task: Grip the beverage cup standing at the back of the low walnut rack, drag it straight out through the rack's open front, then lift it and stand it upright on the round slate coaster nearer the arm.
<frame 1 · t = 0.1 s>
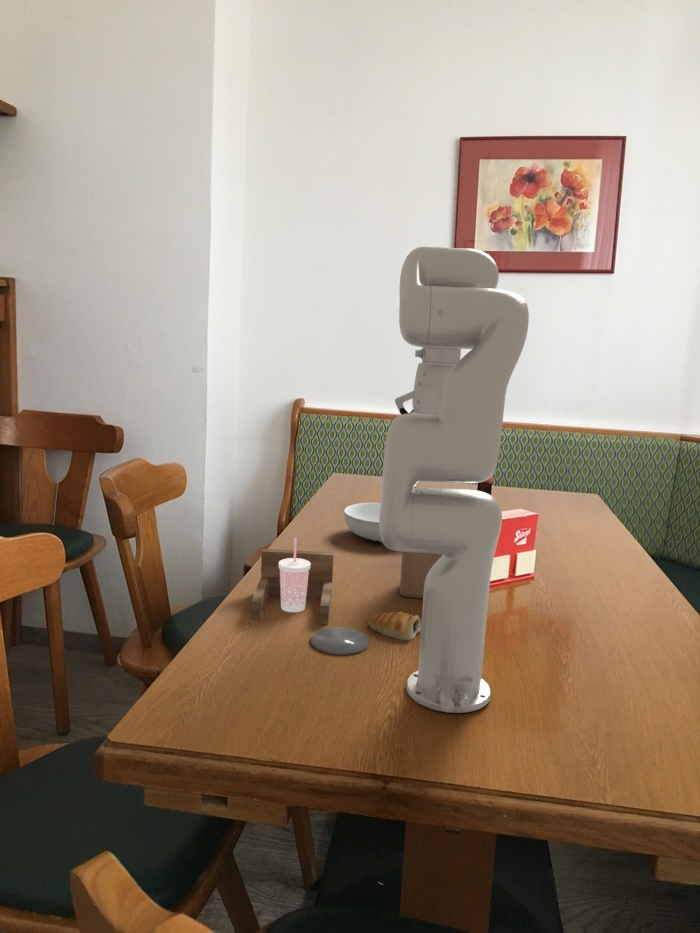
hand: (435, 442, 152), 31 cm above the table, tool pointing down, fingers open, 9 cm apart
beverage cup: (293, 608, 144), resting in rack
coaster: (339, 642, 130), on the table
serving bowl: (383, 538, 194), on the table
rack: (293, 607, 144), on the table
pastry: (396, 633, 136), on the table
block: (425, 592, 156), on the table
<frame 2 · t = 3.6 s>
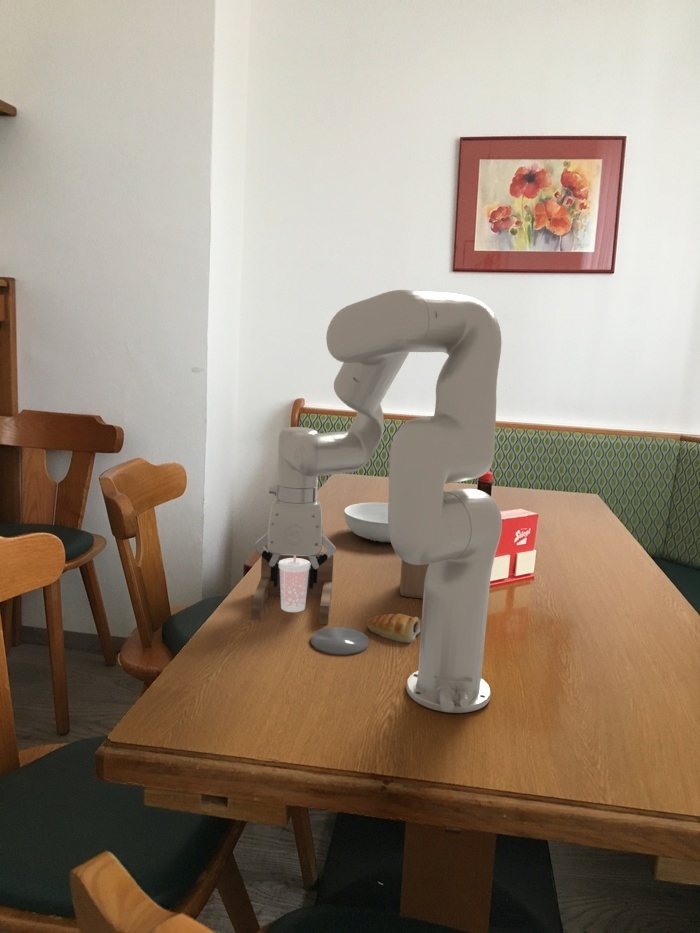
hand: (293, 584, 143), 5 cm above the table, tool pointing down, fingers closed on beverage cup, 6 cm apart
beverage cup: (293, 608, 144), resting in rack, touching gripper
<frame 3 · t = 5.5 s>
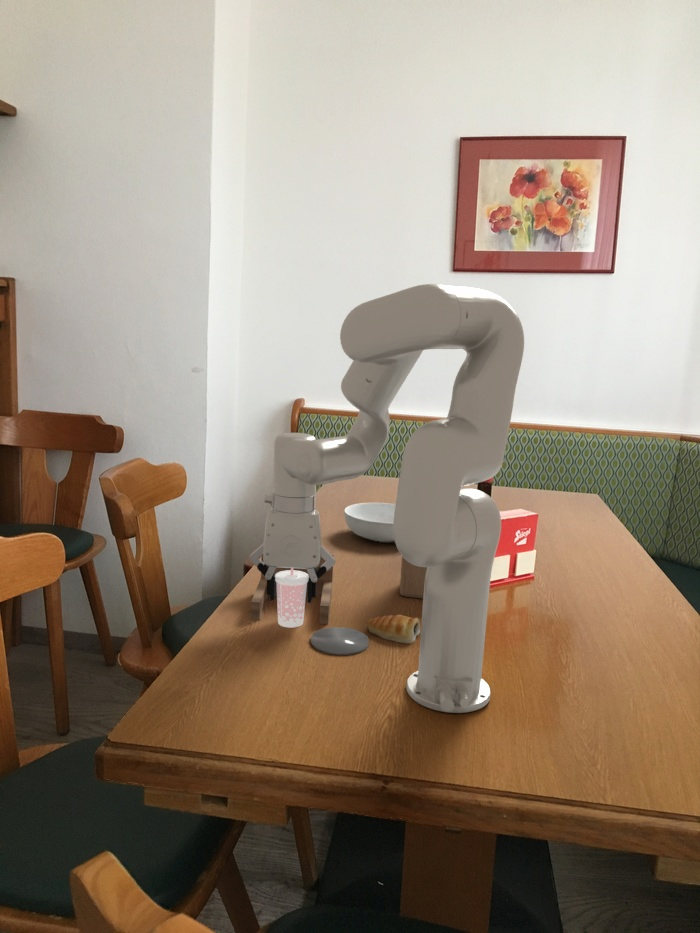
hand: (291, 598, 136), 5 cm above the table, tool pointing down, fingers closed on beverage cup, 6 cm apart
beverage cup: (290, 623, 137), on the table, touching gripper
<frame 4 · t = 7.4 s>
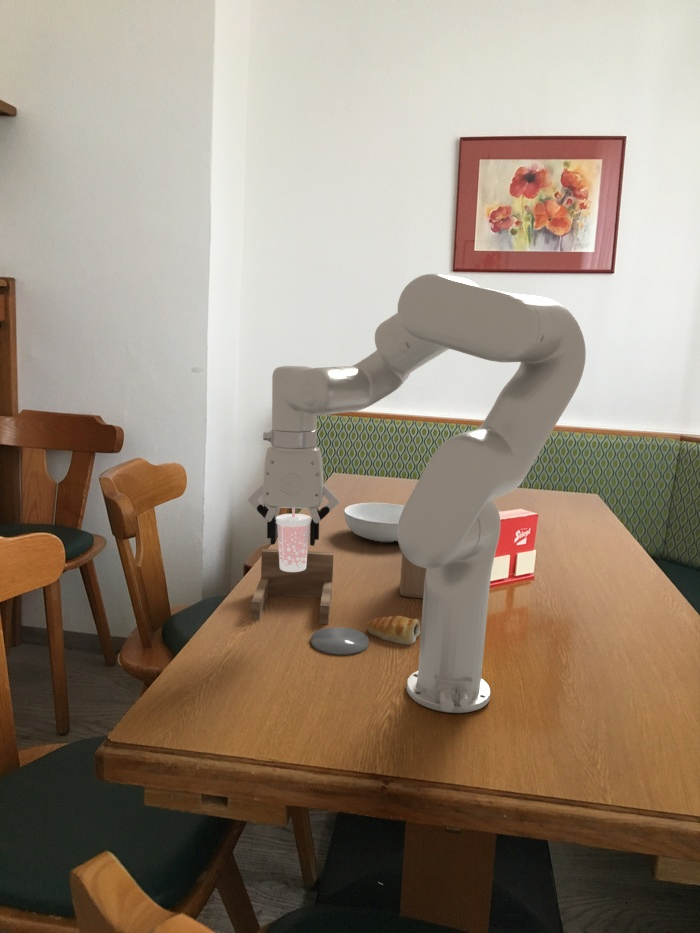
hand: (293, 542, 130), 17 cm above the table, tool pointing down, fingers closed on beverage cup, 6 cm apart
beverage cup: (292, 569, 131), point 12 cm above the table, touching gripper
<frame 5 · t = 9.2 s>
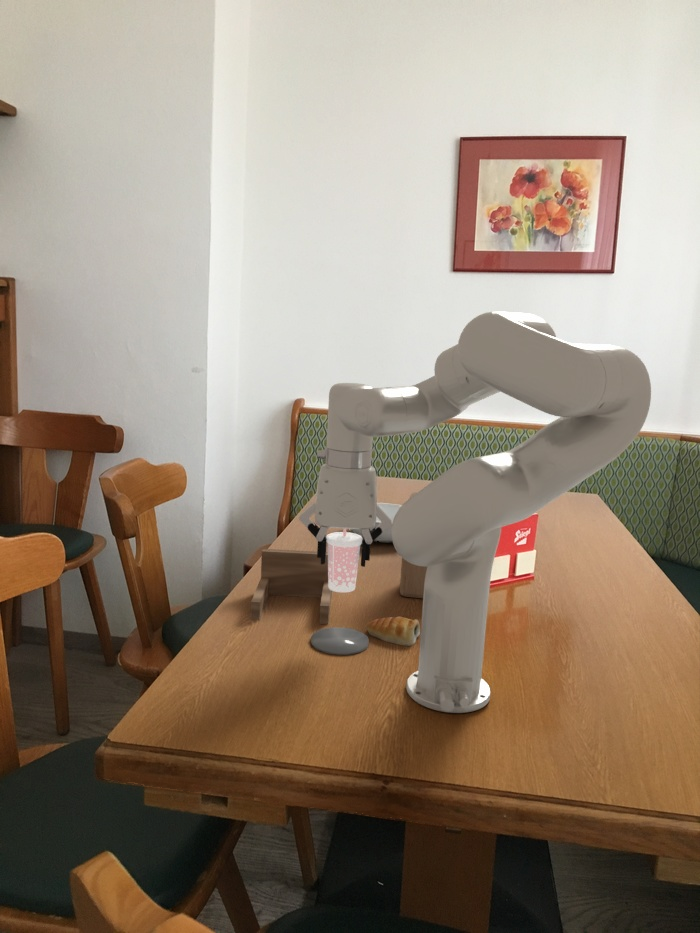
hand: (343, 562, 127), 14 cm above the table, tool pointing down, fingers closed on beverage cup, 6 cm apart
beverage cup: (341, 588, 128), point 10 cm above the table, touching gripper
when the fingers open (6 cm above the table, at t = 11.1 s): beverage cup stays where it is, resting on coaster.
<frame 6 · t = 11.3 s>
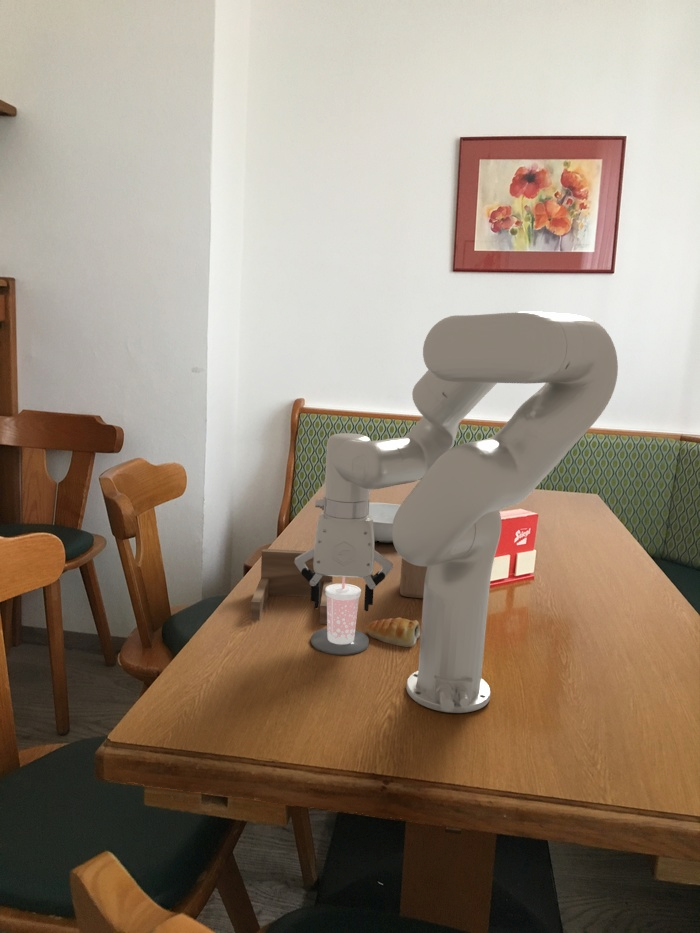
hand: (341, 606, 129), 7 cm above the table, tool pointing down, fingers open, 8 cm apart
beverage cup: (340, 640, 130), resting on coaster
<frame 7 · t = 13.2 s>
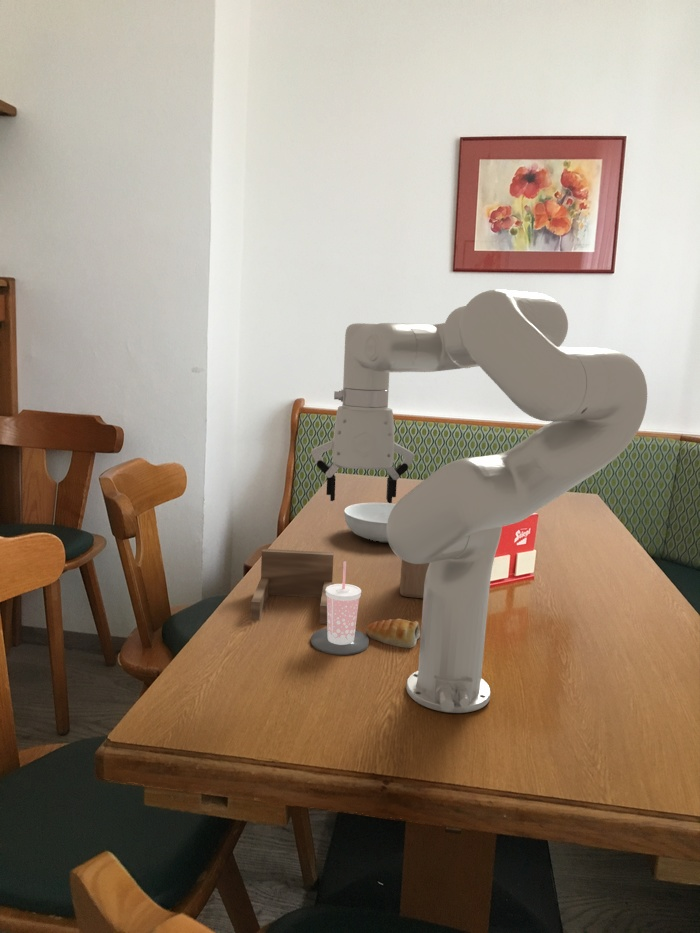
hand: (360, 500, 127), 25 cm above the table, tool pointing down, fingers open, 9 cm apart
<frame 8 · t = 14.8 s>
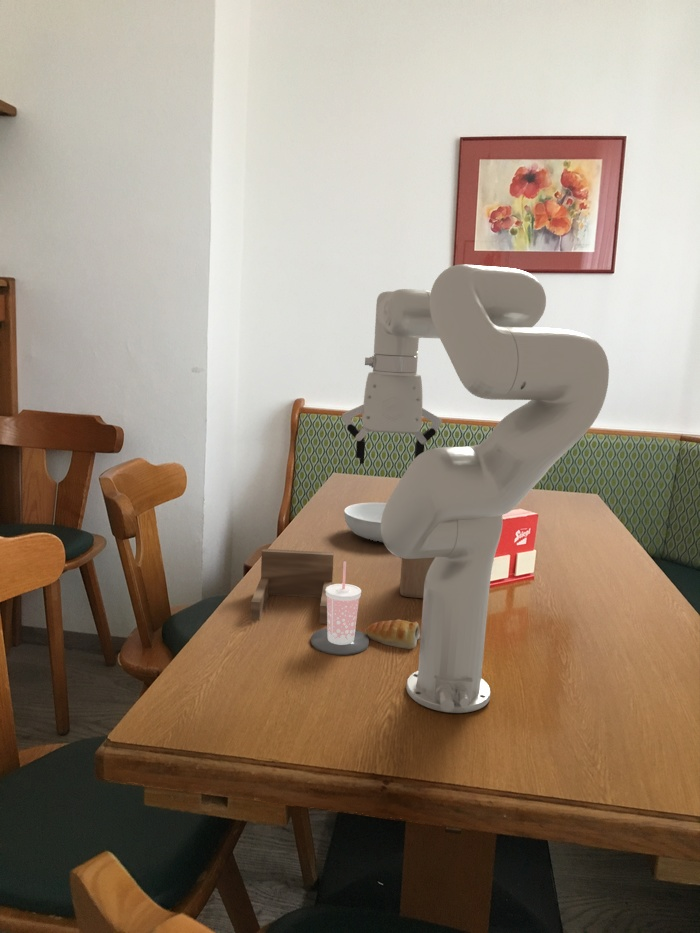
hand: (389, 463, 132), 30 cm above the table, tool pointing down, fingers open, 9 cm apart
at the end: beverage cup 0.2 cm from the coaster (horizontally); beverage cup tilted 0°; beverage cup resting on coaster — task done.
